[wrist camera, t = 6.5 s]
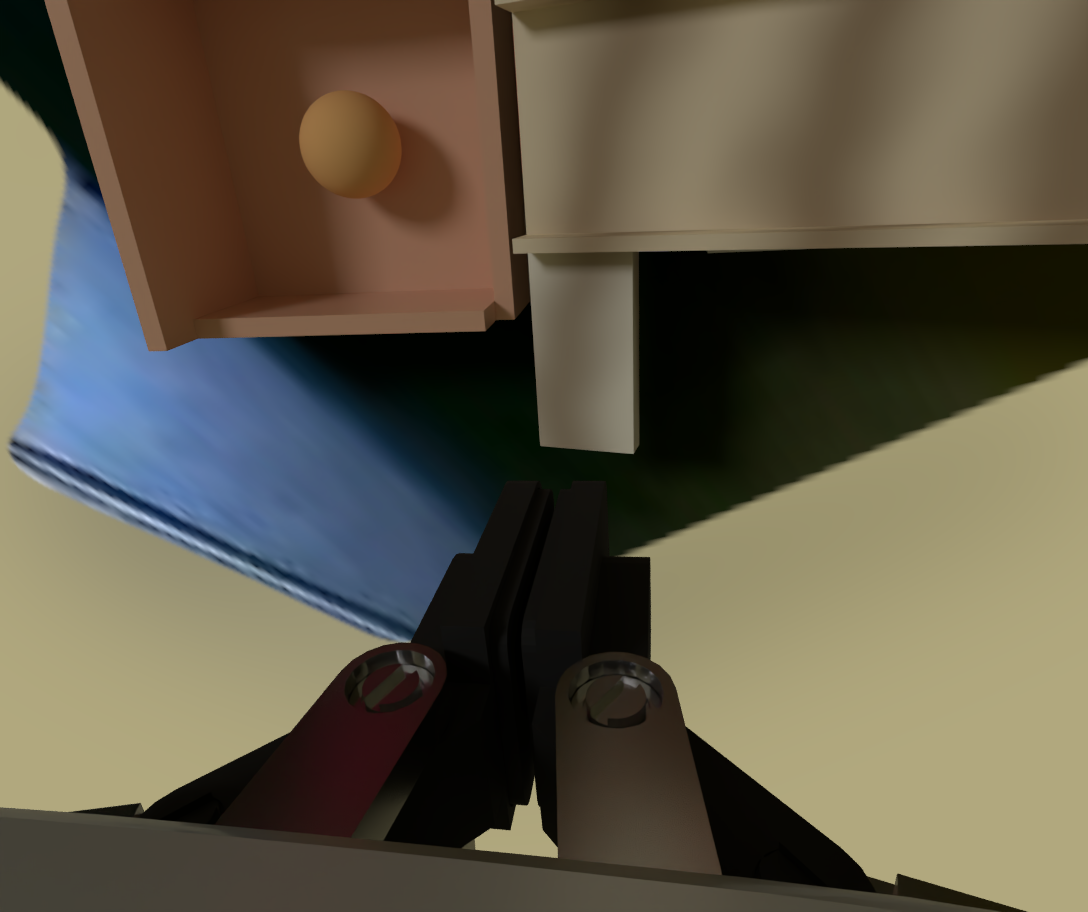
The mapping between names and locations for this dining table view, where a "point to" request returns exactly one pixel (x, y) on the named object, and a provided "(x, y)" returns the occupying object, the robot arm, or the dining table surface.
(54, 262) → the dining table surface
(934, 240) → the tray
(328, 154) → the ball
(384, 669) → the robot arm
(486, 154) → the pink open box
